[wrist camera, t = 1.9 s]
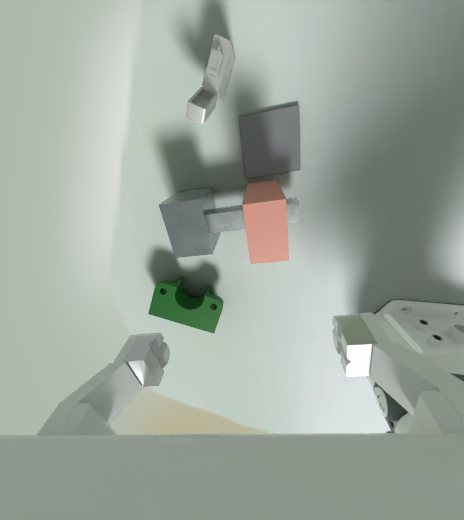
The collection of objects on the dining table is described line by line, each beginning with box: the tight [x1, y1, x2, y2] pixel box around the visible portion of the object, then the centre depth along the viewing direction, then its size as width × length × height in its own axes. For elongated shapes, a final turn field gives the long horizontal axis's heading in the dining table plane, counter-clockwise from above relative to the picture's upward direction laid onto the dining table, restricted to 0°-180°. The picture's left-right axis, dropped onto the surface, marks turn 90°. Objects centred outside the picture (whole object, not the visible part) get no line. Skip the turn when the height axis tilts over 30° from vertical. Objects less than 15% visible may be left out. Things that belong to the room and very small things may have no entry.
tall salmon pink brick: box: [243, 179, 289, 264], centre depth 27 cm, size 4×6×11 cm, turn 9°
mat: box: [239, 105, 300, 178], centre depth 28 cm, size 7×7×1 cm
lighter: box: [187, 34, 235, 124], centre depth 22 cm, size 7×2×8 cm, turn 160°
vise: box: [159, 187, 300, 258], centre depth 29 cm, size 16×7×7 cm, turn 99°
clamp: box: [149, 277, 223, 333], centre depth 38 cm, size 12×6×9 cm, turn 67°
